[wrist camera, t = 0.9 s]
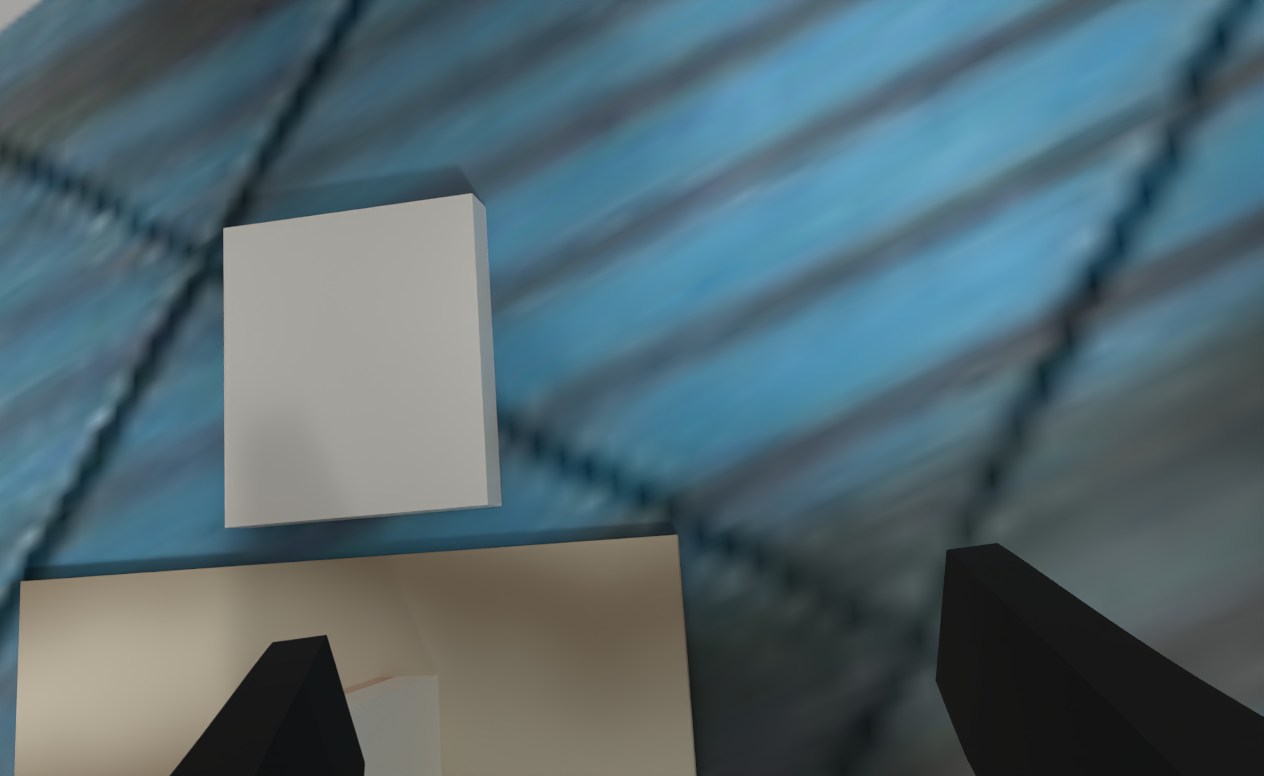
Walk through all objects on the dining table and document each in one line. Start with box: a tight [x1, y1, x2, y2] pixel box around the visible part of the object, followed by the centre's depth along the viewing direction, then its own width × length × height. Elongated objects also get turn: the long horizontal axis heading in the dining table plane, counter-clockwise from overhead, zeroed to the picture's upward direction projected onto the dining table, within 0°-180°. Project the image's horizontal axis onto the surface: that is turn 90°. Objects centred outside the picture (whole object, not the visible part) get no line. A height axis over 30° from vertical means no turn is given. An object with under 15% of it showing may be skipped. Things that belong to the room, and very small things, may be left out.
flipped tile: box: [223, 193, 502, 528], centre depth 26 cm, size 8×7×2 cm
